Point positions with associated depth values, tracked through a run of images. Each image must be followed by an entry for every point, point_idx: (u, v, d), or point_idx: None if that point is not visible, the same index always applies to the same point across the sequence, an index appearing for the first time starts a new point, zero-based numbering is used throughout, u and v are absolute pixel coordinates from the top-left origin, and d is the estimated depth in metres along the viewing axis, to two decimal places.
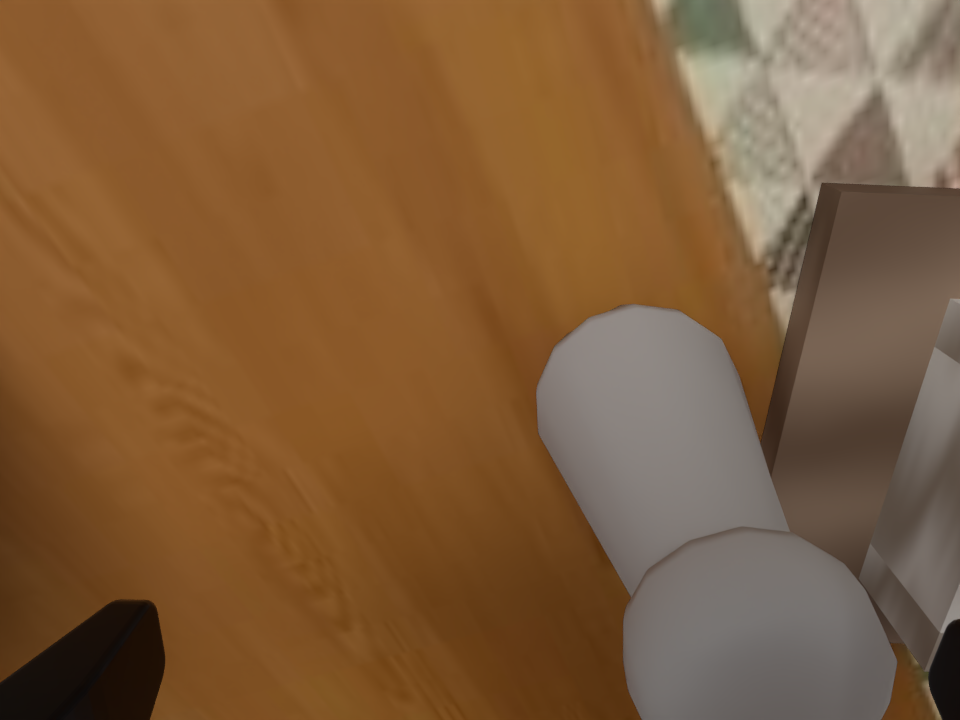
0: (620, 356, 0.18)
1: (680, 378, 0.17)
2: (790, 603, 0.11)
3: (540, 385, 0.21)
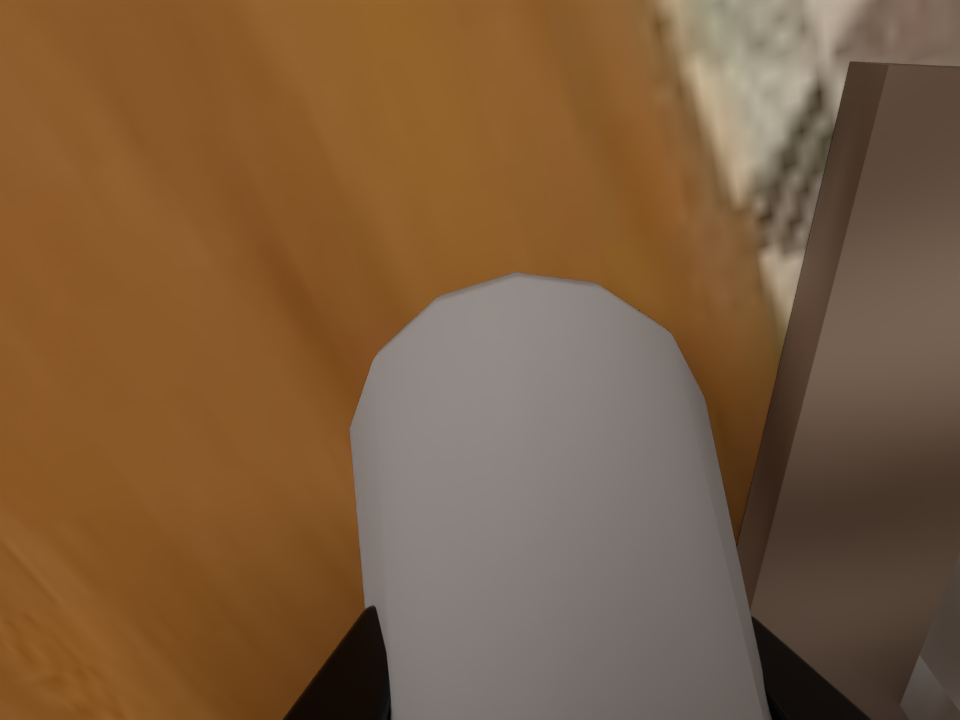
0: (465, 367, 0.09)
1: (568, 415, 0.08)
2: None
3: (354, 416, 0.12)
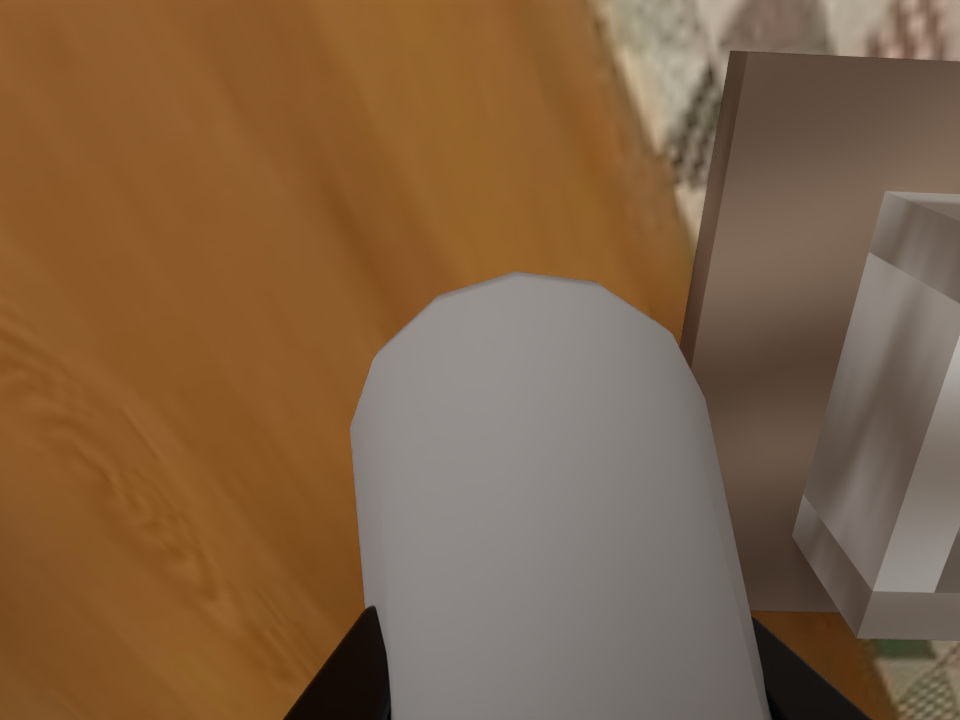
0: (465, 367, 0.09)
1: (569, 415, 0.08)
2: None
3: (354, 415, 0.12)
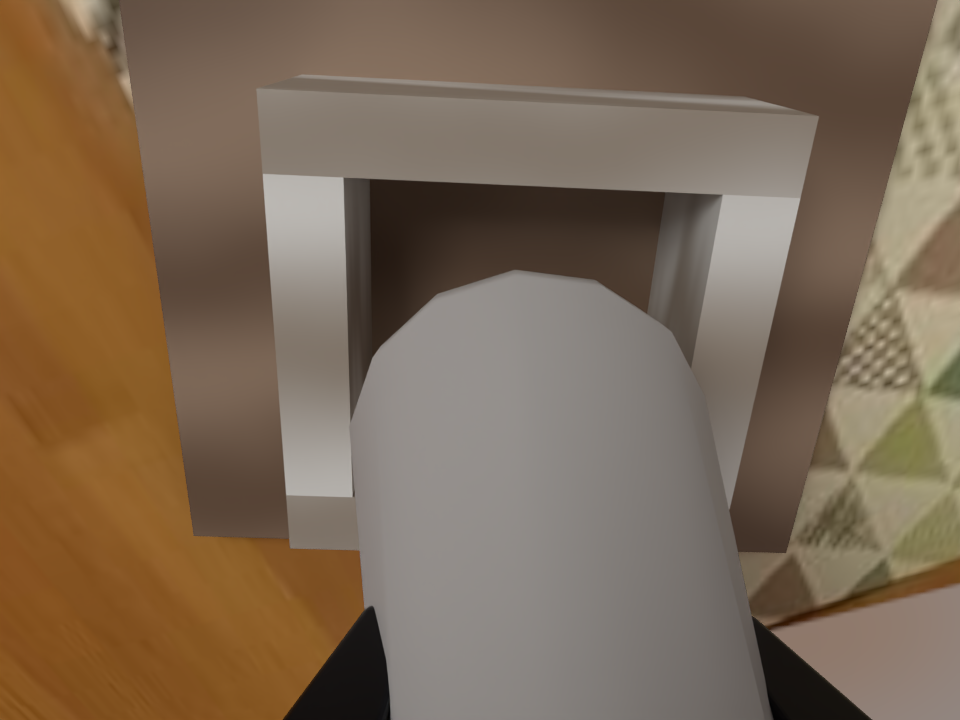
0: (465, 365, 0.09)
1: (568, 412, 0.08)
2: None
3: (354, 414, 0.12)
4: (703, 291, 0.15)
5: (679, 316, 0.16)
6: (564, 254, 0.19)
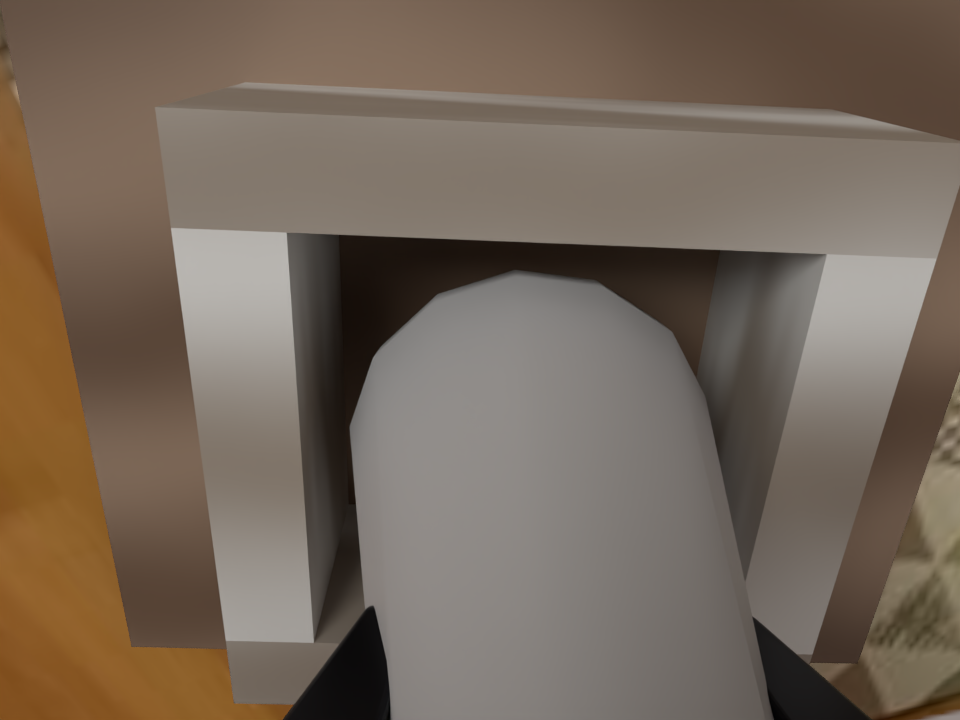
0: (465, 365, 0.09)
1: (569, 413, 0.08)
2: None
3: (354, 414, 0.12)
4: (791, 383, 0.11)
5: (749, 405, 0.12)
6: None
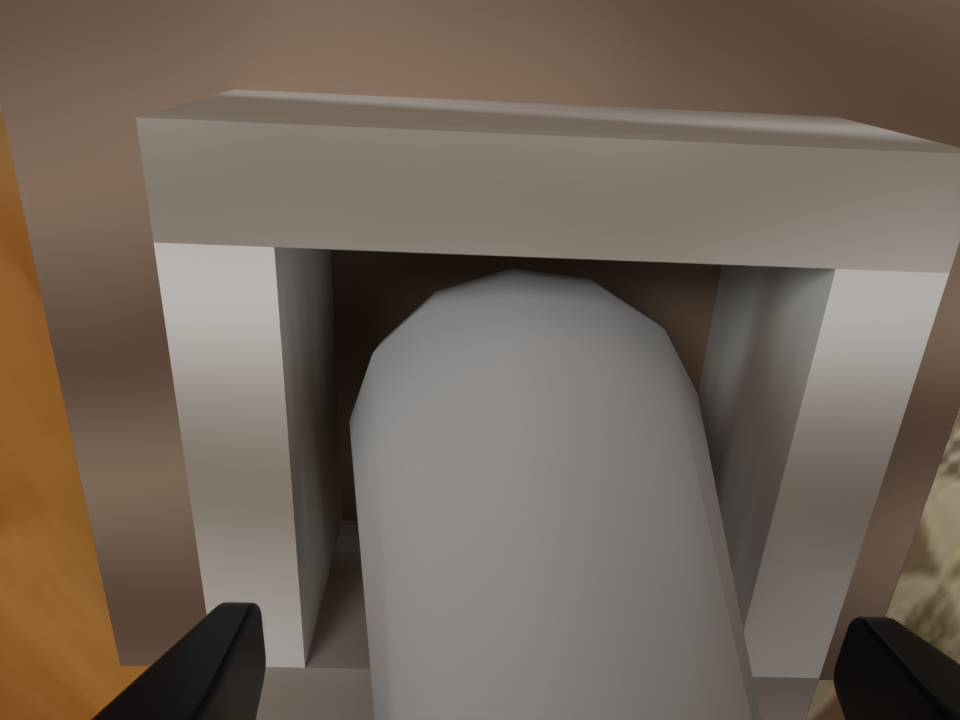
0: (462, 360, 0.10)
1: (562, 407, 0.09)
2: None
3: (354, 409, 0.12)
4: (798, 401, 0.10)
5: (754, 422, 0.12)
6: None
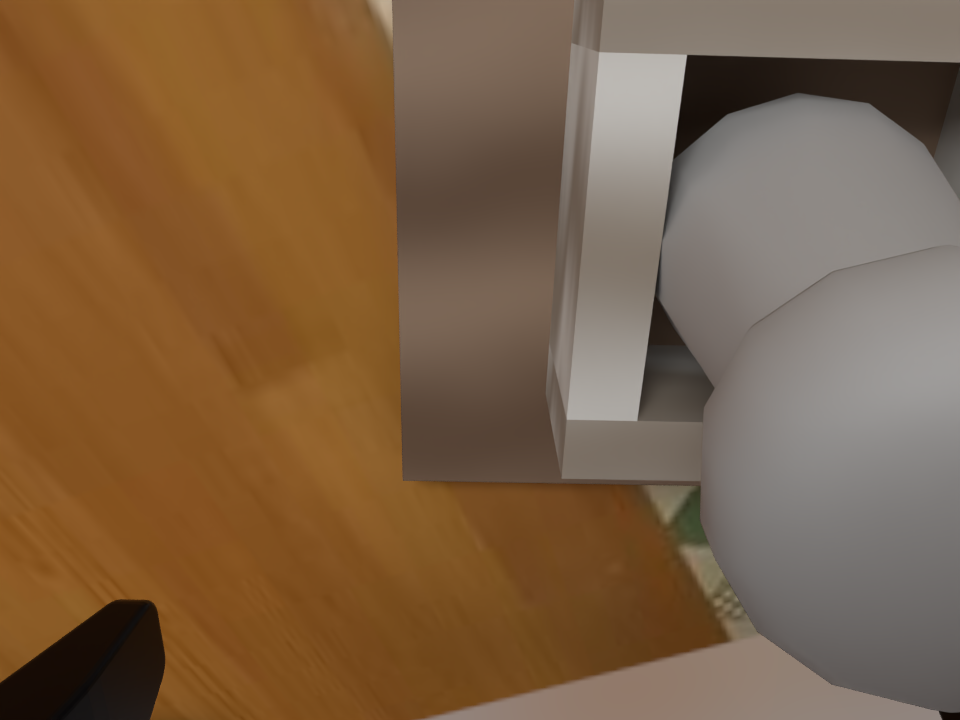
0: (762, 135, 0.13)
1: (850, 147, 0.12)
2: None
3: None
4: None
5: None
6: None
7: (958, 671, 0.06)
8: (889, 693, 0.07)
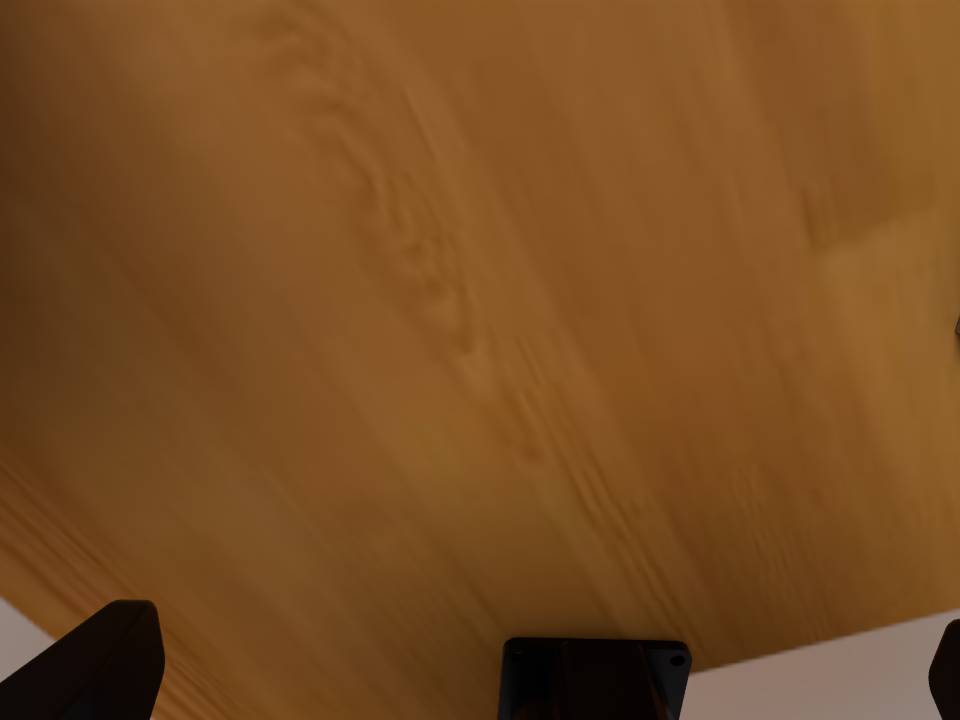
0: None
1: None
2: None
3: None
4: None
5: None
6: None
7: None
8: None
